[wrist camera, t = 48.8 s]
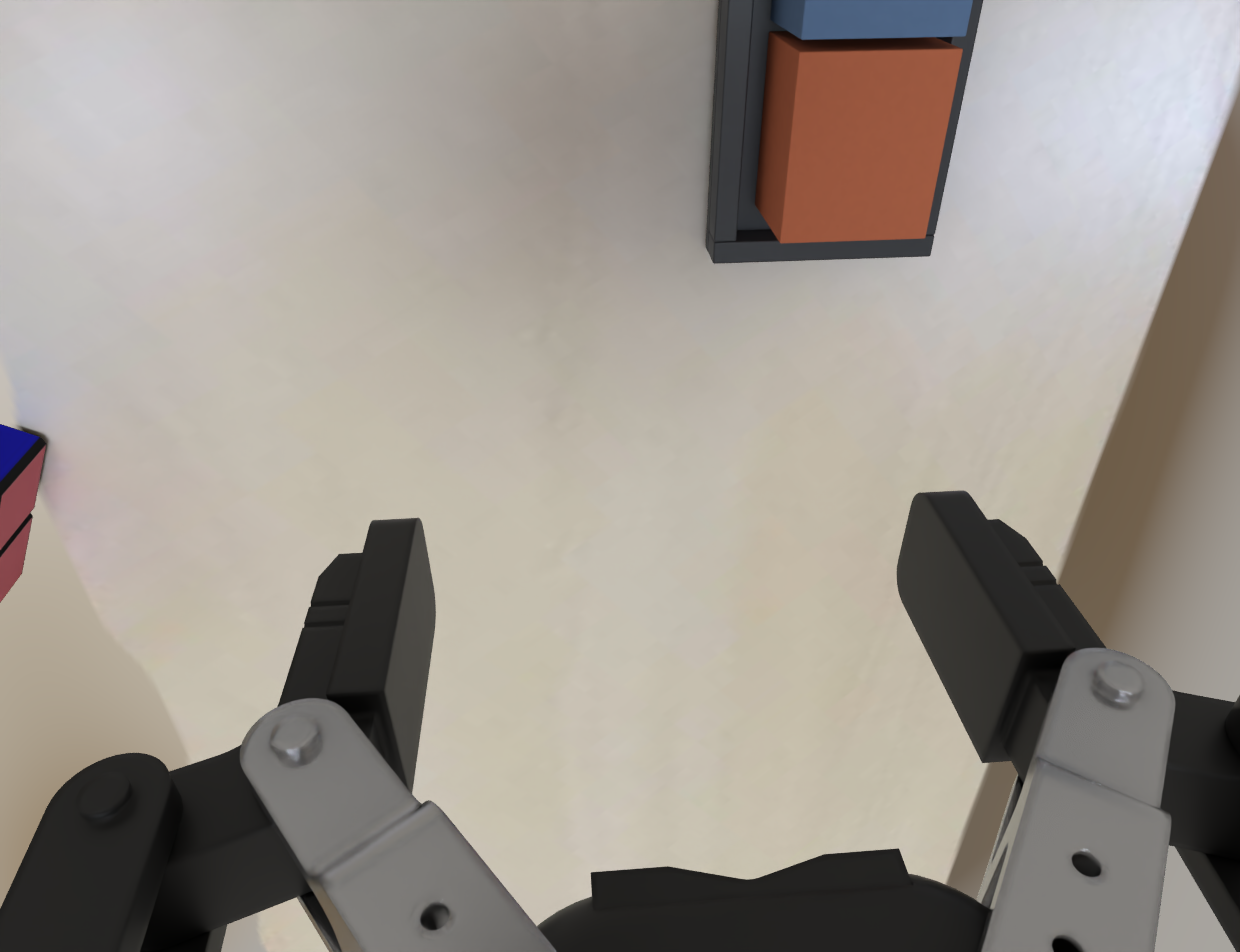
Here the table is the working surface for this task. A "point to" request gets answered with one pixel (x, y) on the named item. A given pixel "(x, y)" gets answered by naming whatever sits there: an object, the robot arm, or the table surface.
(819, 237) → the matte reddish brown block
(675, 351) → the table surface
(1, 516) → the puzzle cube
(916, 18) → the matte blue cube
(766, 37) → the frame
